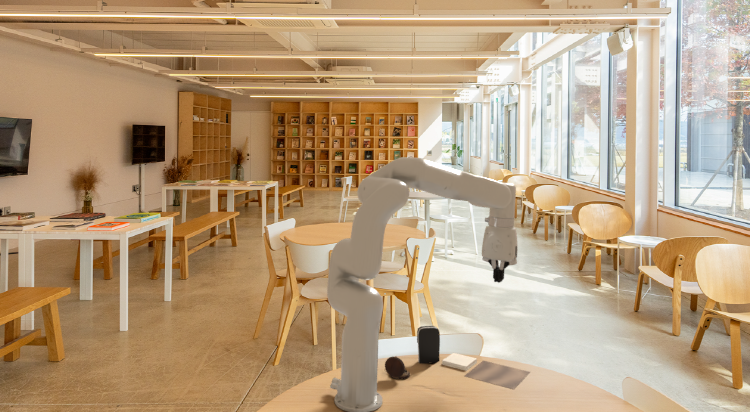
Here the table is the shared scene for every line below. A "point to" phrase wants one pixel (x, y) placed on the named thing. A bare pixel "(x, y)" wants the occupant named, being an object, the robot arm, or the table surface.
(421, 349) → the battery charger
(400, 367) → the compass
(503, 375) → the board
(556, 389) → the table surface
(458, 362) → the coaster
